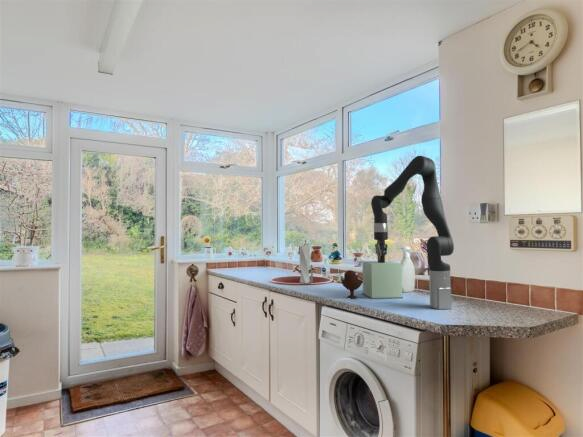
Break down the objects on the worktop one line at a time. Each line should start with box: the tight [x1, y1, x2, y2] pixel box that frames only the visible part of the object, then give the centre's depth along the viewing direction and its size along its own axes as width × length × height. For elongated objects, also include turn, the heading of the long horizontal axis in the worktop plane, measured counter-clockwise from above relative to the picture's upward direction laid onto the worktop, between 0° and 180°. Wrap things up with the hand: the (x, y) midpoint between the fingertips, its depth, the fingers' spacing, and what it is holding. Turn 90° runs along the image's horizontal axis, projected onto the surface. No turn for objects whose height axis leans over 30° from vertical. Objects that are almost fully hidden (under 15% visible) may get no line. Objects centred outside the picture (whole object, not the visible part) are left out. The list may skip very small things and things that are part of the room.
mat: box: [361, 292, 404, 300], centre depth 213 cm, size 17×17×1 cm
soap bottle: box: [398, 245, 416, 294], centre depth 227 cm, size 14×8×27 cm, turn 130°
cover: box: [362, 253, 403, 298], centre depth 213 cm, size 17×17×23 cm
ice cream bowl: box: [340, 269, 363, 300], centre depth 207 cm, size 11×11×15 cm
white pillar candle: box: [299, 242, 314, 285], centre depth 269 cm, size 8×8×28 cm
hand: (381, 262), depth 213 cm, fingers closed on cover, 4 cm apart
